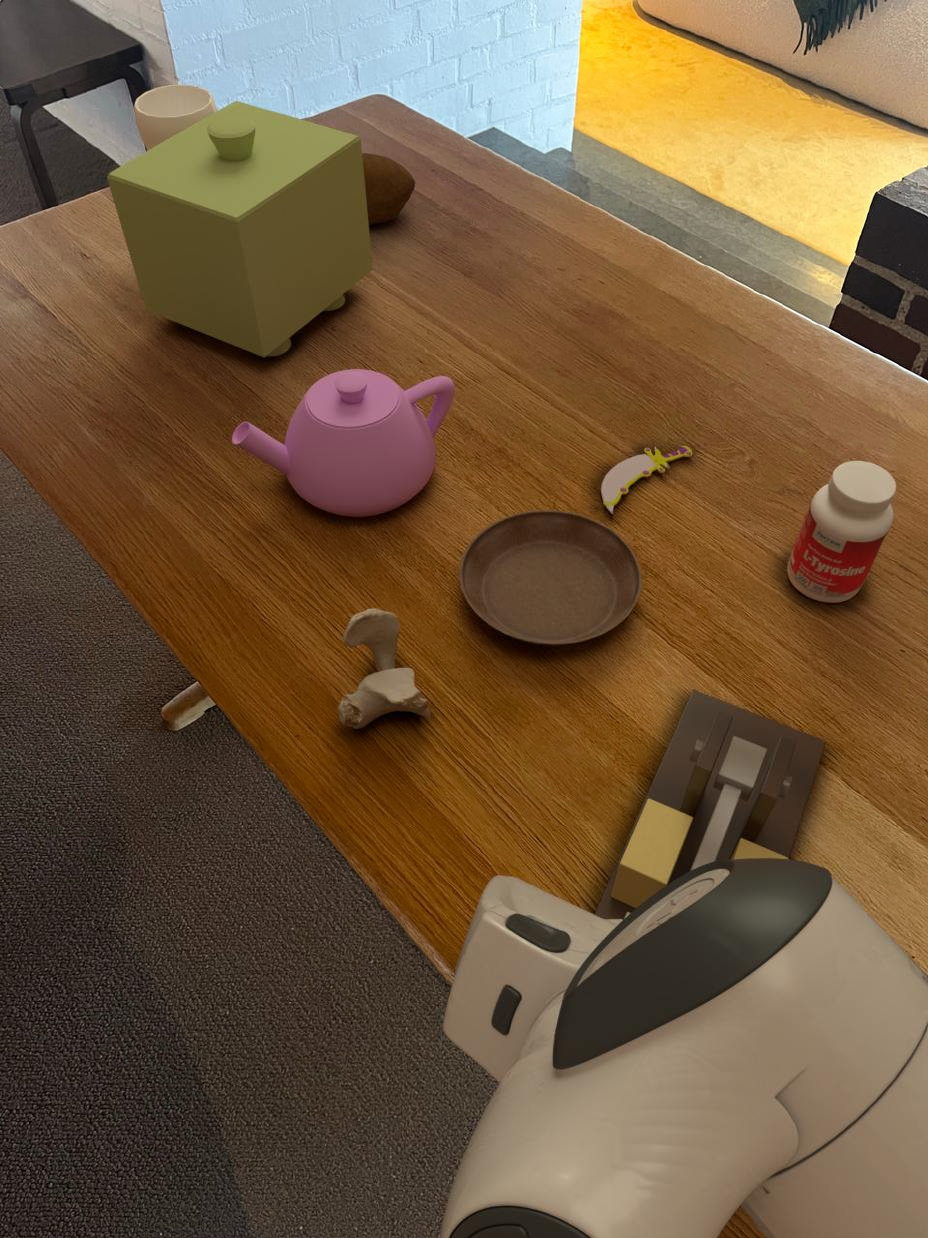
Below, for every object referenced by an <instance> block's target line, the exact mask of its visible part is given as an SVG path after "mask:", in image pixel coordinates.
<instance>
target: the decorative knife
mask: <svg viewBox="0 0 928 1238" xmlns="http://www.w3.org/2000/svg"><path fill="white" fill-rule="evenodd" d="M653 451H654V454H653V453H652V449H651V448H649V447H645V448H644V449H643V453H641V454H636V455H634V456H632V457H631V456H630V457H629V458H626V459H624V460H623V461H620V462H619V463H617V464H615V465H614V466H613V467H612V468H611V469H610V470H609V471H608V472H607V473H606V475H605V476H604V478H603V480H602V482H601V485H600V492H601V497H602V502H603V503H602V506H604V507H606V509H607V510H608V512H609V513H610V514H612V515H613V514H614V508H615V506H617V504H618V503H619V502H620V500H621V498H622V496H625V495H627V494H629V489H630V487H631V486H632V485H634V484H635V483H636V482H637V481H638V480H640V479H642V478H648V477H651V476H652V473H653V472H656V471H657V472H658V474H664V473H666V469H667V470H669V469H671V466H669V463H670V462H673V461H675V460H677V459H682V458H691V457H692V456H693V451H692V449H691V447H689V446H687V445H680V448H679V449H677V450H675V451H672V452H670V453H667V454H664V455H663V454H662V453H661V451H660V449H659V448H657V447H656V446H654V450H653ZM668 462H669V463H668Z"/></svg>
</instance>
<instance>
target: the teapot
mask: <svg viewBox="0 0 928 1238" xmlns="http://www.w3.org/2000/svg"><path fill="white" fill-rule="evenodd" d="M433 395H435V396H434V401H433V405H432V407H431V410H430V413H429V415H428V417H427V419H426V418H425V415H424V414H423V412H422V411H421V409H420V407H419V406H418V405H417V404H416V403H418V402H420V401H421V400H423V399H425V398H428V397H430V396H433ZM454 397H455V384H454V381H453V380H452V378H450V377H449V376H446V375H438V376H435V377H431V378H428V379H426V380H424V381H422V382H420V383H417V384H415V385H413V386H411V387H410V388H407V389H406V390H404V389H403V388H402V387H401V386H400V385H399V384H398V383H397V382H395V381H394V380H393V379H391V378H390V377H389V376H387V375H385V374H383V373H381V372H378V371H374V370H370V369H363V368H351V369H343V370H338V371H335V372H332V373H329V374H327V375H325V376H323V377H322V378H320V379H319V380H317V381H315V382H314V383H313V384H312V385H311V386H310V388H309V389H308V390H307V392H306V393H305V394H304V396H303V397H302V399H301V400H300V401H299V404H298V405H297V407H296V408H295V410H294V412H293V414H292V417H291V418H290V421H289V423H288V426H287V429H286V433H285V439H284V444H283V443H281V442H280V441H278V440H277V439H275V438H274V437H273V436H271V435H269V434H267V433H266V432H264V431H263V430H262V429H260V428H258V427H257V426H255V425H253V424H252V423H250V422H249V421H242V422H241V423H240V424H239V425H237V426H236V428H235V430H234V431H233V433H232V437H231V442H232V444H233V445H235V446H237V447H239V448H240V449H242V450H243V451H245V452H247V453H248V454H250V455H252V456H253V457H255V458H257V459H259V460H260V461H262V462H263V463H266V464H267V465H269V466H270V467H272V468H274V469H275V470H277V471H279V472H281V473H282V474H284V475H285V476H286V478H287V479H288V480H287V481H288V482H289V484H290V486H291V487H292V488H293V490H294V491H295V492H296V493H297V494H298V496H299V497H300V498H302V499H303V500H305V502H306V503H309V504H311V505H312V506H314V507H316V508H318V509H320V510H322V511H325V512H328V513H330V514H333V515H336V516H342V517H350V518H365V517H372V516H373V517H374V516H378V515H382V514H386V513H388V512H390V511H393V510H395V509H396V508H397V509H398V508H399V507H401V506H402V505H404V504H406V503H407V502H408V501H410V500H411V499H413V498H414V497H415V496H416V495H417V494H418V493H420V492H421V491H422V490H423V489H424V487H426V485H427V484H428V482H429V480H430V479H431V478H432V477H431V476H432V475H433V472H434V469H435V465H436V461H437V460H436V457H437V455H436V447H435V441H434V438H435V435H436V434H437V432H438V430H439V428H440V427H441V425H442V423H443V422H444V420H445V418H446V416H447V414H448V412H449V410H450V408H451V406H452V404H453V400H454Z"/></svg>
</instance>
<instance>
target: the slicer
mask: <svg viewBox="0 0 928 1238" xmlns="http://www.w3.org/2000/svg"><path fill="white" fill-rule="evenodd" d="M733 736H736V737H738V738H741V739H743V740H746V741H748V742H751V743H753V744H756V745H759V746H761V747H764V748H766V749H768V751H767V754H766V757H765V759H764V762H763V765H762V767H761V770H760V773H759V775H758V778H757V781H756V783H755V786H754V789H753V791H752V793H751V795H750V797H749V799H748V800H747V801H745V800H742V799H740V798H739V800H738V803H737V805H736V808H735V811H734V813H733V816H732V819H731V821H730V824H729V827H728V829H727V832H726V834H725V837H724V840H723V842H722V845H721V848H720V850H719V853H718V856H717V858H716V861H719V860H730V859H731V857H732V855H733V853H734V850H735V848H736V846H737V844H738V842H739V840H740V838H743V839H745V840H748V841H750V842H752V843H755V844H757V845H759V846H762V847H764V848H766V849H769V850H771V851H773V852H776V853H778V854H780V855H783V856H785V857H787V858H788V859H790V855H791V852H792V848H793V845H794V843H795V840H796V836H797V833H798V830H799V827H800V823H801V821H802V818H803V815H804V811H805V808H806V806H807V802H808V799H809V796H810V792H811V789H812V787H813V783H814V780H815V777H816V774H817V771H818V767H819V764H820V761H821V758H822V756H823V752H824V749H825V746H826V743H827V742H826V740H824V739H822V738H819V737H816V736H814V735H811V734H809V733H807V732H804V731H801V730H798V729H796V728H794V727H791V726H788V725H785V724H783V723H780V722H778V721H775V720H773V719H770V718H767V717H765V716H762V715H759V714H757V713H755V712H752V711H749V710H746V709H744V708H741V707H739V706H737V705H734V704H731V703H728V702H726V701H723V700H722V699H719V698H716V697H713V696H711V695H708V694H705V693H703V692H700V691H698V690H694V689H693V690H691V693H690V695H689V698H688V699H687V702H686V705H685V706H684V710H683V711H682V714H681V715H680V718H679V720H678V723H677V724H676V727H675V729H674V731H673V734H672V735H671V739H670V741H669V742H668V745H667V748H666V750H665V753H664V754H663V757H662V759H661V761H660V763H659V766H658V768H657V771H656V773H655V775H654V777H653V779H652V782H651V784H650V787H649V788H648V791H647V793H646V795H645V797H644V800H643V802H642V804H641V807H640V809H639V811H638V814H637V816H636V818H635V820H634V823H633V825H632V827H631V830H630V831H629V834H628V836H627V839H626V841H625V843H624V846H623V848H622V850H621V852H620V855H619V858H617V861H616V863H615V867H614V868H613V871H612V872H611V875H610V877H609V880H608V881H607V884H606V886H605V889H604V891H603V893H602V896H601V898H600V900H599V903H598V905H597V907H596V909H595V910H594V911H595V912H594V913H593V914H594V915H596V916H598V917H600V918H602V919H622V920H624V918H625V916H626V914H627V912H629V913H631V912H633V911H634V910H635V909H636V908H634V907H632V906H630V905H628V904H626V903H623V902H621V901H619V900H617V899H615V898H613V897H611V894H612V890H613V887H614V883H615V879H616V875H617V872H618V868H619V864H620V862H621V859H622V857H623V855H624V852H625V850H626V848H627V846H628V843H629V841H630V839H631V836H632V834H633V832H634V830H635V827H636V825H637V823H638V820H639V818H640V816H641V814H642V811H643V809H644V807H645V804H646V802H647V800H648V799H651V800H654V801H656V802H658V803H661V804H663V805H666V806H668V807H670V808H673V809H675V810H677V811H680V812H682V813H684V814H687V815H689V816H691V817H693V821H692V823H691V826H690V829H689V831H688V834H687V836H686V839H685V842H684V844H683V847H682V850H681V852H680V855H679V857H678V860H677V862H676V865H675V867H674V870H673V872H672V875H671V878H670V880H669V883H668V884H670V883H671V882H673V881H674V880H676V879H677V878H679V877H681V876H682V875H684V874H686V873H688V872H689V871H690V870H691V868H692V865H693V863H694V860H695V858H696V855H697V852H698V850H699V847H700V845H701V842H702V840H703V837H704V834H705V832H706V829H707V827H708V824H709V821H710V819H711V816H712V814H713V811H714V809H715V806H716V803H717V801H718V798H719V796H720V793H721V790H718V789H716V788H714V787H713V785H714V783H715V780H716V778H717V775H718V773H719V770H720V767H721V765H722V762H723V760H724V757H725V755H726V752H727V750H728V747H729V745H730V742H731V739H732V737H733Z"/></svg>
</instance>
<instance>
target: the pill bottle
mask: <svg viewBox="0 0 928 1238" xmlns="http://www.w3.org/2000/svg"><path fill="white" fill-rule="evenodd" d="M896 491H897V483H896V481H895V479H894V477H893V475H892V474H891V473H890V472H888V471H887V470H886V469H885V468H884V467H881V466H880V465H877V464H875V463H872V462H870V461H864V460H850V461H845V462H843V463H841V464H839V465H838V466H836V467H835V469H834V470H833V472H832V475H831V477H830V479H829V480H828V483H827V484H825V485H824V486H821V488H819V489H818V490H817V492H816V493H815V494H814V495H813V497H812V500H811V501H810V505H809V507H808V508H807V509H808V510H807V512H806V515H805V517H804V520H803V523H802V525H801V527H800V530H799V533H798V536H797V538H796V540H795V544H794V546H793V548H792V551H791V554H790V556H789V558H788V561H787V568H786V570H787V576H788V580H789V581H790V583H791V584H792V586H793V587H794V588H795V589H796V590H797V591H798V592H800V593H801V594H803V596H805V597H807V598H810V599H812V600H815V601H818V602H822V603H831V604H833V603H834V604H836V603H843V602H845V601H848V600H850V599H852V598H853V597H855V596H856V595H857V594H858V593H859V591H860V590H861V588H862V586H863V585H864V582H865V581H866V579H867V577H868V575H869V572H870V571H871V569H872V566H873V564H874V562H875V560H876V558H877V556H878V554H879V552H880V550H881V547H882V546H883V544H884V542H885V540H886V538H887V535H888V534H889V531H890V530H891V528H892V525H893V521H894V510H893V506H892V504H891V503H892V501H893V499H894V496H895V494H896Z"/></svg>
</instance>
